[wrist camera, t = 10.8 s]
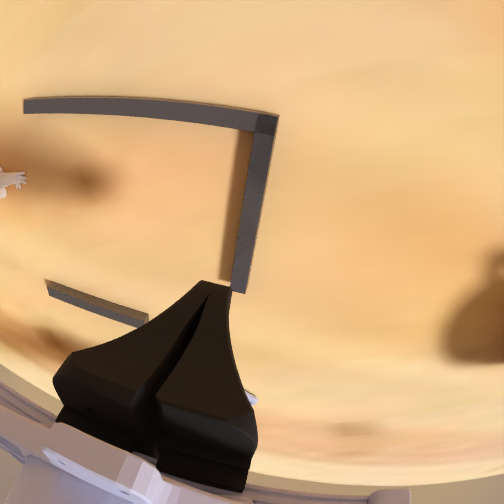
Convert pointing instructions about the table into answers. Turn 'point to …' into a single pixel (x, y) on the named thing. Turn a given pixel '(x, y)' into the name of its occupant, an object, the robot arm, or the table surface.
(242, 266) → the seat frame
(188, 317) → the robot arm
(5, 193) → the white figurine
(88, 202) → the table surface
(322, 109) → the table surface
